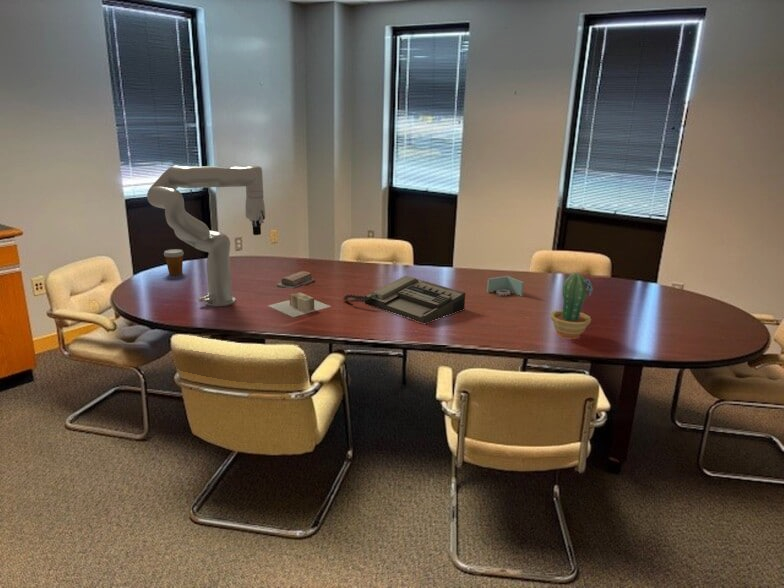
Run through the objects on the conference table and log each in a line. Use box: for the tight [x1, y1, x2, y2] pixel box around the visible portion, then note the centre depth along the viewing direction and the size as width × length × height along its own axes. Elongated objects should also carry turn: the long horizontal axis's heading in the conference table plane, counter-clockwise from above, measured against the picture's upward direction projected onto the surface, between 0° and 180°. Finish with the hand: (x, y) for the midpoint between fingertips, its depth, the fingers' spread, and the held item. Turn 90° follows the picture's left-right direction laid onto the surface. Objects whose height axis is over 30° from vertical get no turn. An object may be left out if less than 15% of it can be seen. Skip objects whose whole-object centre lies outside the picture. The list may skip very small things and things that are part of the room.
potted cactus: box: [549, 272, 594, 339], centre depth 215 cm, size 15×15×25 cm
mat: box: [267, 299, 331, 318], centre depth 243 cm, size 20×19×1 cm
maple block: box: [289, 291, 315, 312], centre depth 241 cm, size 5×5×11 cm
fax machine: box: [342, 275, 466, 323], centre depth 247 cm, size 45×34×10 cm
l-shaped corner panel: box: [486, 275, 525, 297], centre depth 266 cm, size 12×12×8 cm
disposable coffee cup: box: [163, 248, 185, 276], centre depth 286 cm, size 10×10×12 cm
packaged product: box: [276, 270, 316, 289], centre depth 276 cm, size 18×5×10 cm
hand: (257, 234), depth 256 cm, fingers closed
